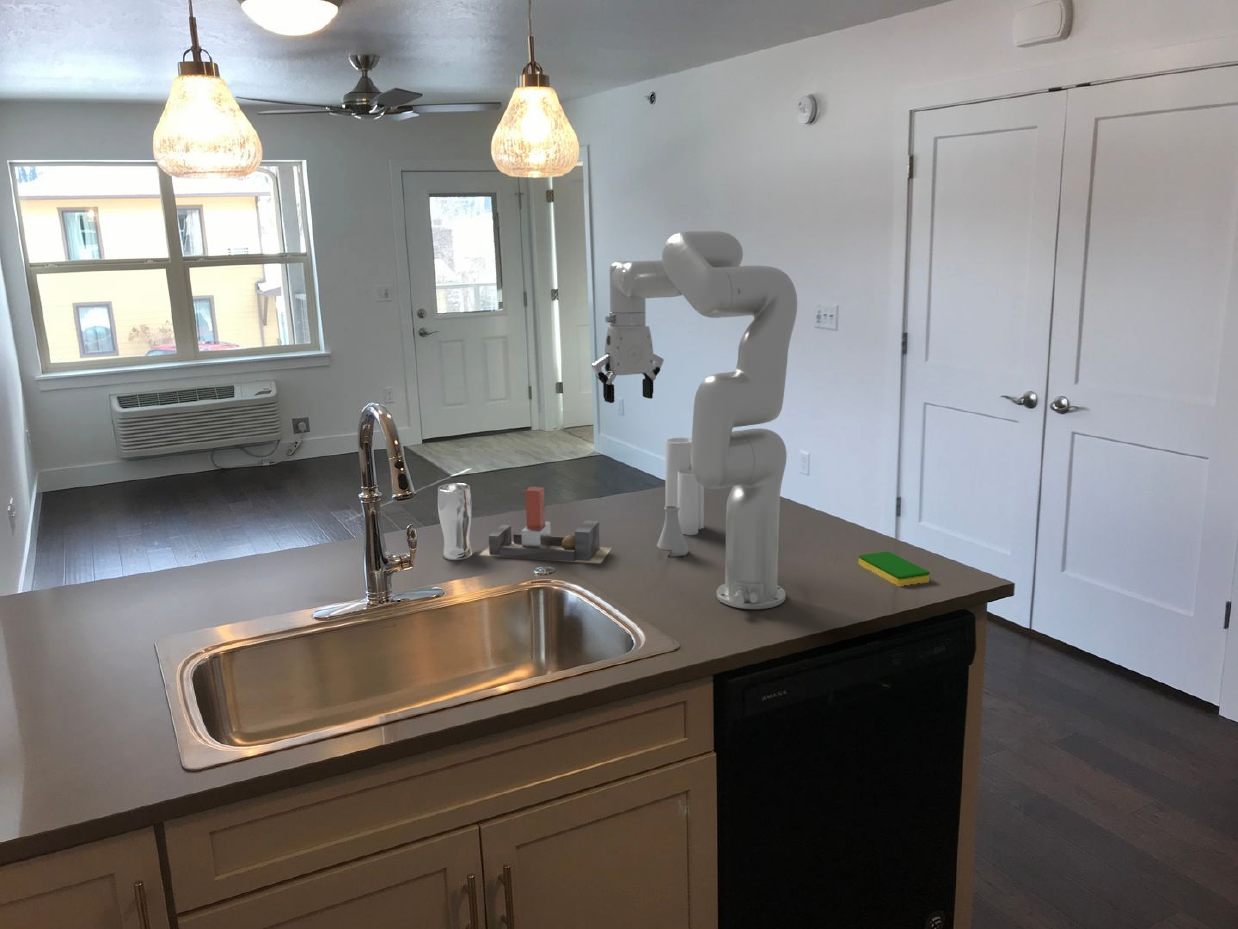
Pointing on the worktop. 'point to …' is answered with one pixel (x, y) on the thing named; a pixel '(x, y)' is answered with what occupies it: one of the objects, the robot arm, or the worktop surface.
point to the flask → (672, 533)
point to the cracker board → (584, 546)
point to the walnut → (569, 542)
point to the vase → (683, 485)
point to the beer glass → (455, 519)
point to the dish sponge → (894, 568)
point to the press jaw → (536, 520)
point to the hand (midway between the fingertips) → (628, 399)
